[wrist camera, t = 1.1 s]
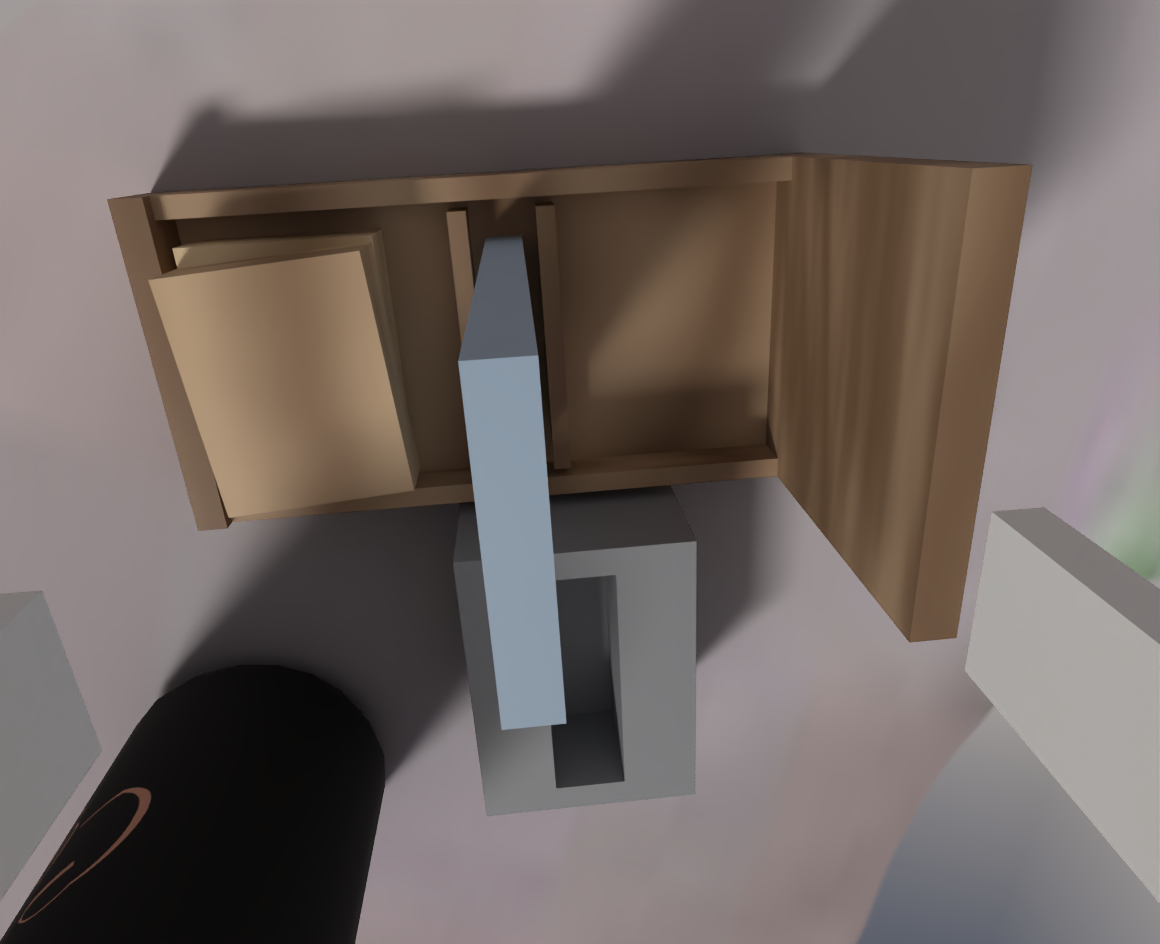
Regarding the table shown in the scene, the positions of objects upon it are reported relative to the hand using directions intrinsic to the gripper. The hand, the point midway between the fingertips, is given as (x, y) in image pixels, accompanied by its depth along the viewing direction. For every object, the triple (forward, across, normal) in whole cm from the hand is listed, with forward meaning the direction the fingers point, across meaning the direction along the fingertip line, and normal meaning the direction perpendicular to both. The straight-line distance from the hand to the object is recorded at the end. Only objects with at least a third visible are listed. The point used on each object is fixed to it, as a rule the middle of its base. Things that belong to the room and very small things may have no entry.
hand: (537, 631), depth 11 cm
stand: (+19, +1, -12) cm, 22 cm away
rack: (+19, -1, 0) cm, 19 cm away
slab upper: (+16, -7, 0) cm, 18 cm away
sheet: (+18, 0, 0) cm, 18 cm away
